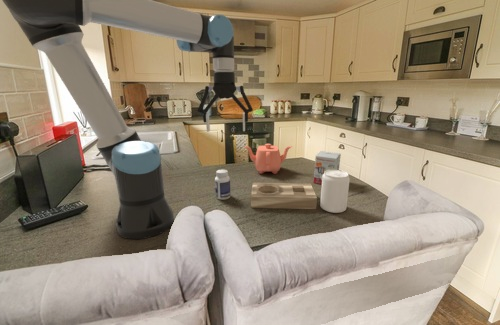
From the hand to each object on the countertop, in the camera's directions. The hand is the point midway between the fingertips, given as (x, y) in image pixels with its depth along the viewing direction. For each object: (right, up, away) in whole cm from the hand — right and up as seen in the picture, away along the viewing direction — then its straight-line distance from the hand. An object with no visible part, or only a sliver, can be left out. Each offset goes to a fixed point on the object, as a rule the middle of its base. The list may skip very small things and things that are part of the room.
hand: (226, 130), depth 97 cm
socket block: (+20, -25, -9) cm, 33 cm away
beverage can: (+36, -27, -14) cm, 47 cm away
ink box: (+40, -20, +8) cm, 46 cm away
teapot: (+17, -16, +22) cm, 32 cm away
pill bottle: (-1, -25, -5) cm, 25 cm away
